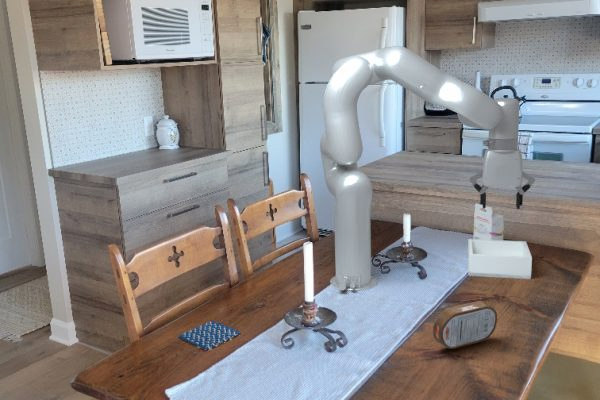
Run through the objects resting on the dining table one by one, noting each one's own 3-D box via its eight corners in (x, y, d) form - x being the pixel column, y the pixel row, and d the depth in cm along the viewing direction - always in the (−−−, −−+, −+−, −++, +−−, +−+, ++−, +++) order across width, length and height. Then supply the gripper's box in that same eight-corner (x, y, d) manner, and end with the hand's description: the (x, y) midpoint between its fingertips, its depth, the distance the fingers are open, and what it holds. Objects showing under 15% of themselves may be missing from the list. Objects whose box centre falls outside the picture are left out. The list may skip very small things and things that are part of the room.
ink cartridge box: (503, 253, 175) (505, 206, 172) (490, 255, 173) (492, 208, 170) (485, 245, 183) (486, 200, 180) (472, 248, 181) (473, 202, 178)
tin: (488, 332, 124) (490, 296, 122) (499, 338, 121) (500, 301, 120) (431, 348, 118) (432, 310, 117) (440, 354, 116) (441, 315, 114)
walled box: (530, 279, 153) (532, 257, 152) (468, 275, 158) (469, 254, 156) (524, 261, 168) (526, 241, 166) (467, 258, 172) (468, 239, 170)
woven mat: (175, 343, 125) (174, 335, 125) (212, 327, 133) (212, 318, 133) (205, 358, 119) (205, 349, 118) (243, 339, 126) (243, 331, 126)
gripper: (469, 147, 154) (468, 210, 158) (539, 146, 149) (536, 211, 153) (469, 143, 161) (467, 203, 165) (535, 142, 156) (533, 205, 160)
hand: (500, 207), depth 159 cm, fingers open, 8 cm apart
